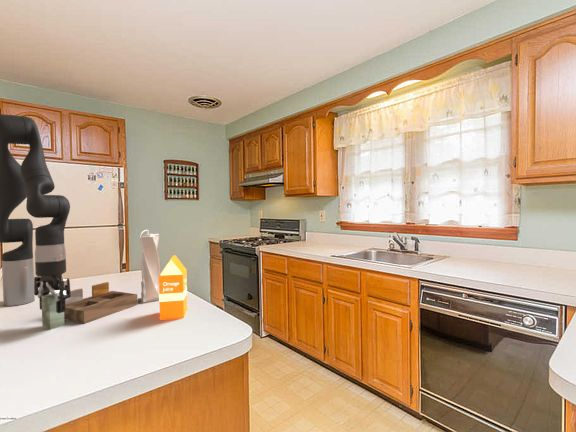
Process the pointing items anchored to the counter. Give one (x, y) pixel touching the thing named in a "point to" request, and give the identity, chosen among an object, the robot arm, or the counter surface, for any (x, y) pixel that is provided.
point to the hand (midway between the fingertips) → (52, 310)
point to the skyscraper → (150, 268)
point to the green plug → (51, 313)
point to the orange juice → (173, 290)
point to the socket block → (97, 303)
